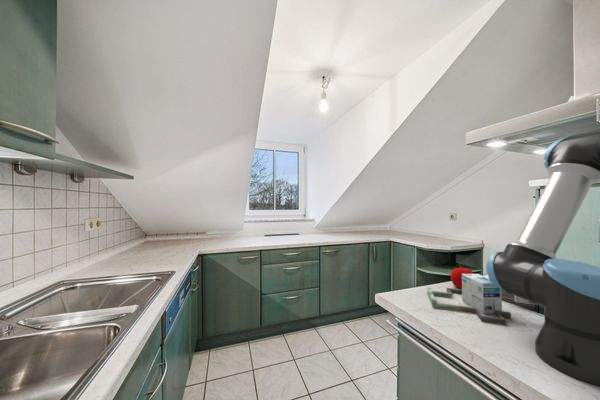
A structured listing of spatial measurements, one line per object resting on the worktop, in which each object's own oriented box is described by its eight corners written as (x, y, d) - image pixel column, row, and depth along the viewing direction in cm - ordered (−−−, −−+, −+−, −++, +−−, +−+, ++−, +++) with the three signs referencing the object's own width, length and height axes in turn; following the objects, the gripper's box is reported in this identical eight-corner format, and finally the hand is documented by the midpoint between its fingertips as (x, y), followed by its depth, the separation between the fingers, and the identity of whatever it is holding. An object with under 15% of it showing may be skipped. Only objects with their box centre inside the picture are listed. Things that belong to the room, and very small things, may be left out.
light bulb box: (503, 314, 80) (502, 282, 80) (483, 315, 79) (483, 283, 79) (478, 301, 90) (478, 273, 90) (461, 301, 90) (460, 273, 90)
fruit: (463, 283, 109) (463, 261, 109) (481, 290, 100) (480, 267, 100) (445, 284, 108) (445, 262, 108) (462, 292, 99) (461, 268, 99)
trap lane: (519, 327, 72) (519, 318, 72) (435, 314, 80) (435, 306, 80) (488, 296, 94) (488, 290, 94) (425, 288, 103) (425, 283, 103)
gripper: (624, 330, 64) (524, 317, 71) (562, 295, 87) (492, 288, 95) (624, 303, 64) (523, 292, 71) (562, 275, 87) (492, 269, 95)
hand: (505, 290), depth 83 cm, fingers open, 13 cm apart
